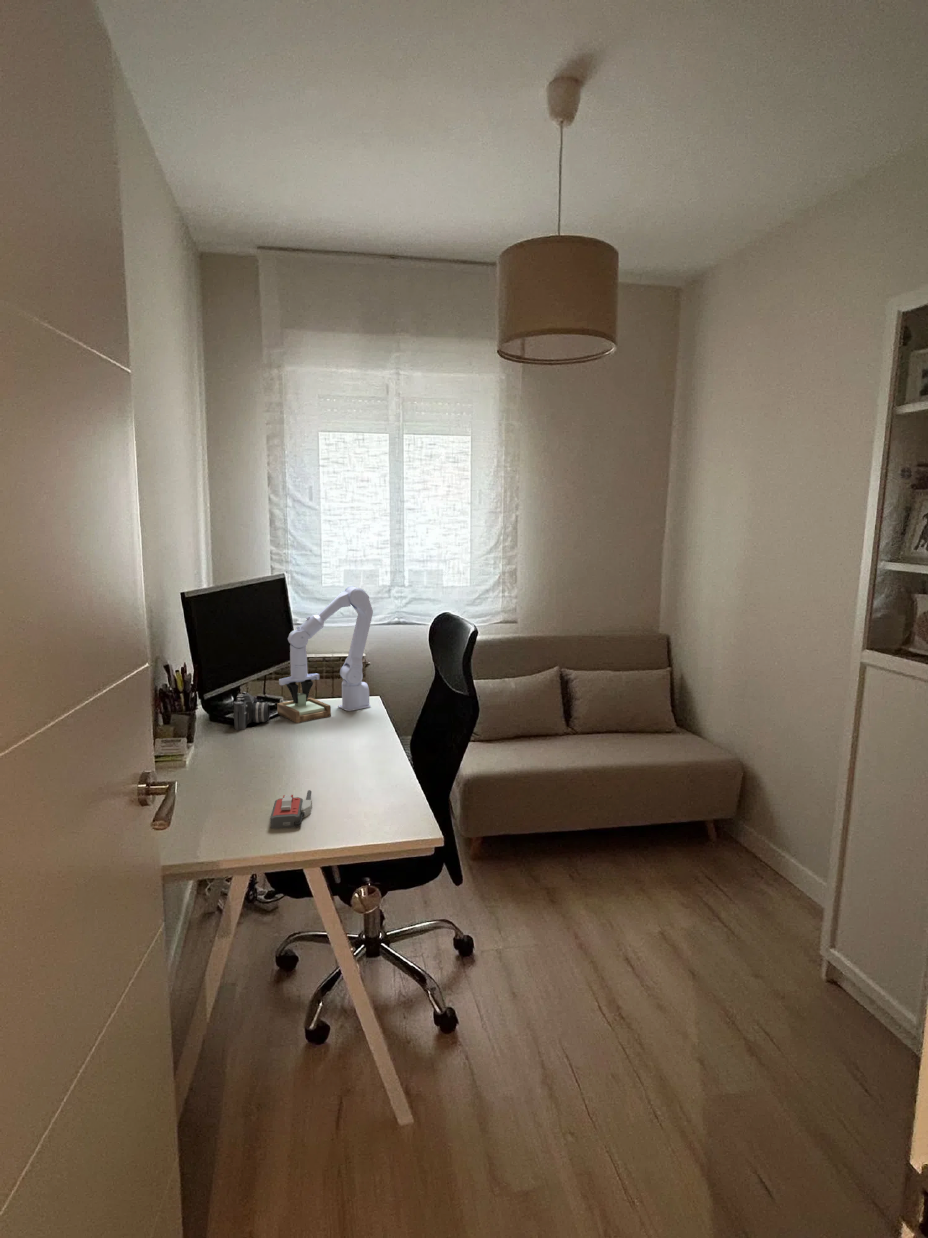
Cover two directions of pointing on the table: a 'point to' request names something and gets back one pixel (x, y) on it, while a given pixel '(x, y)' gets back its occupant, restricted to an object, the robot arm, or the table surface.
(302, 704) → the lid
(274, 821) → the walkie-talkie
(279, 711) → the box
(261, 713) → the camera
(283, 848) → the table surface
